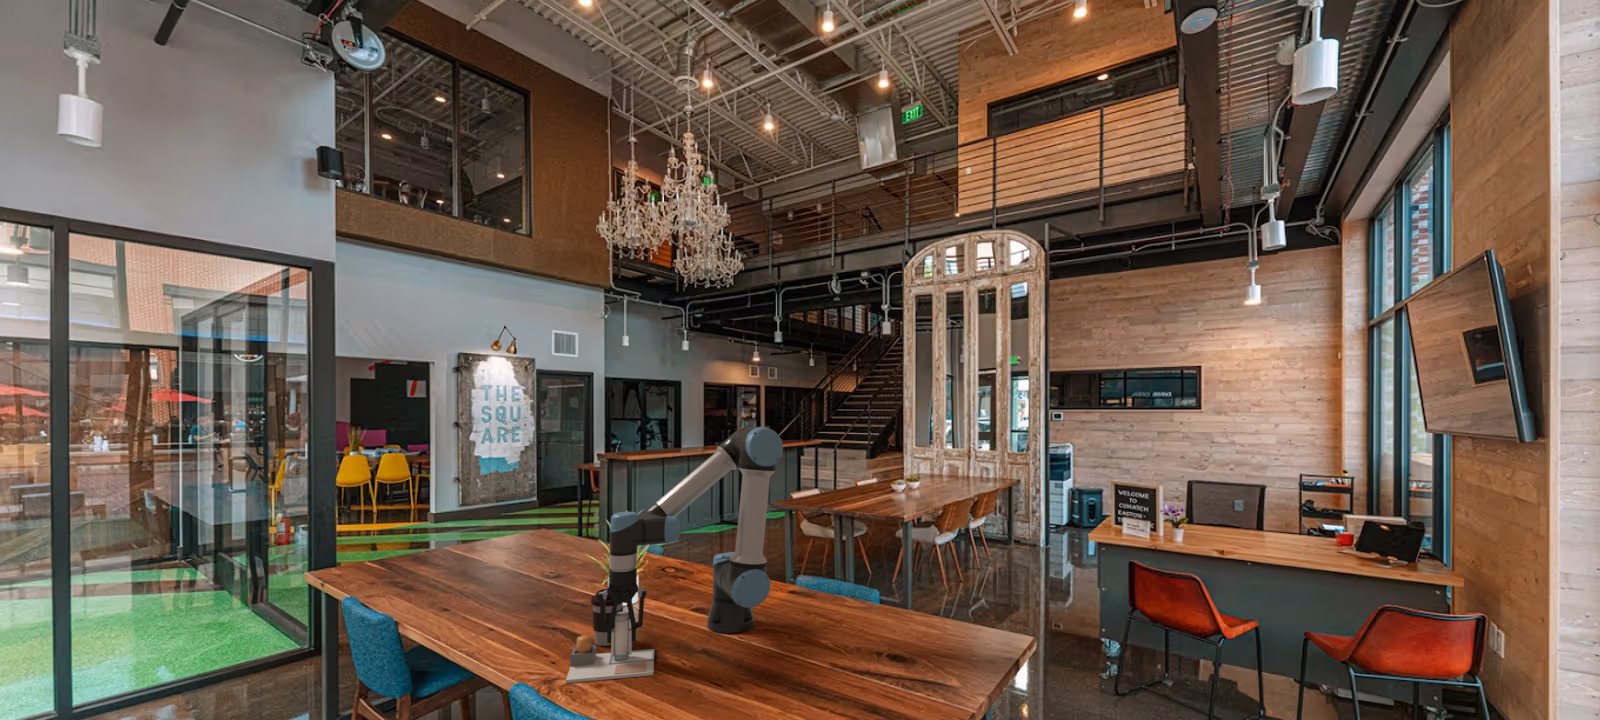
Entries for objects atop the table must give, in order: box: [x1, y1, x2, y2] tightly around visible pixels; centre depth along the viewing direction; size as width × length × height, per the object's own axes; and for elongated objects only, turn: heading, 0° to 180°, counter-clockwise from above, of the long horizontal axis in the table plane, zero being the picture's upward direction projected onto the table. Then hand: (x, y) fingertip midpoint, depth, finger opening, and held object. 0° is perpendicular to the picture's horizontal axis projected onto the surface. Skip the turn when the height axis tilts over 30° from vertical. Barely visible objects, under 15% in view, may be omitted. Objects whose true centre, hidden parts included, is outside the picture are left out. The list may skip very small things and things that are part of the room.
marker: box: [614, 610, 630, 661], centre depth 174 cm, size 4×4×12 cm
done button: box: [576, 634, 592, 654], centre depth 172 cm, size 4×4×5 cm
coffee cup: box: [590, 588, 624, 647], centre depth 188 cm, size 10×10×15 cm
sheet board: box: [565, 644, 655, 684], centre depth 170 cm, size 22×16×4 cm
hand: (621, 653), depth 174 cm, fingers closed on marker, 4 cm apart
